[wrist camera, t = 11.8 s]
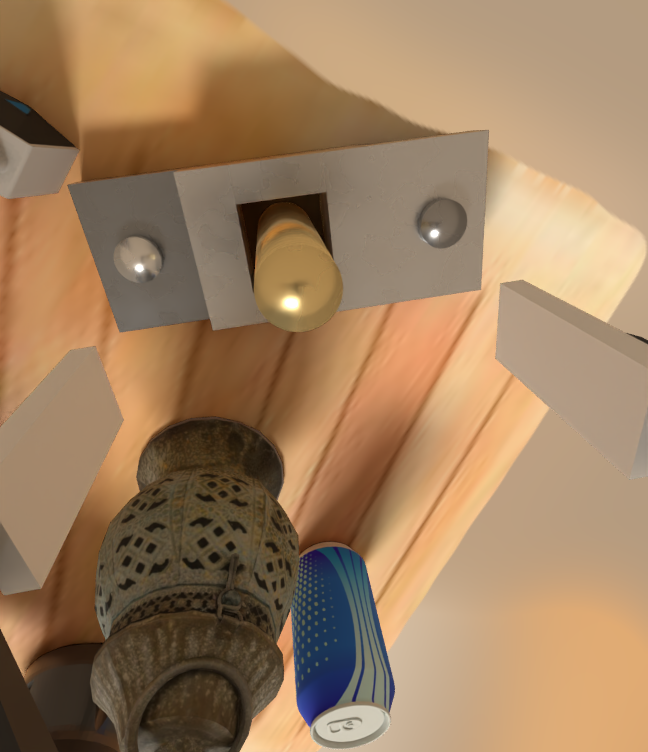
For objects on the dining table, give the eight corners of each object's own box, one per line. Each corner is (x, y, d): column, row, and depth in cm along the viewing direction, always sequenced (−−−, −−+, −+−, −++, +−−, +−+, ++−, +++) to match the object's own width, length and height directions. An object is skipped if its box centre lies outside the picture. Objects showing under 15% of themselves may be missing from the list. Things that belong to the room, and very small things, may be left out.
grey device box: (128, 320, 35) (106, 351, 30) (81, 181, 30) (45, 190, 25) (454, 271, 37) (485, 293, 31) (457, 131, 32) (494, 129, 27)
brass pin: (262, 261, 34) (262, 338, 21) (252, 205, 32) (245, 252, 19) (315, 253, 35) (346, 325, 21) (308, 198, 33) (338, 238, 20)
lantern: (102, 455, 41) (-88, 830, 19) (239, 382, 39) (209, 701, 17) (194, 547, 47) (134, 907, 25) (315, 488, 45) (365, 819, 23)
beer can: (315, 526, 48) (338, 688, 34) (378, 551, 51) (423, 710, 37) (274, 576, 50) (278, 745, 36) (335, 597, 53) (362, 762, 39)
